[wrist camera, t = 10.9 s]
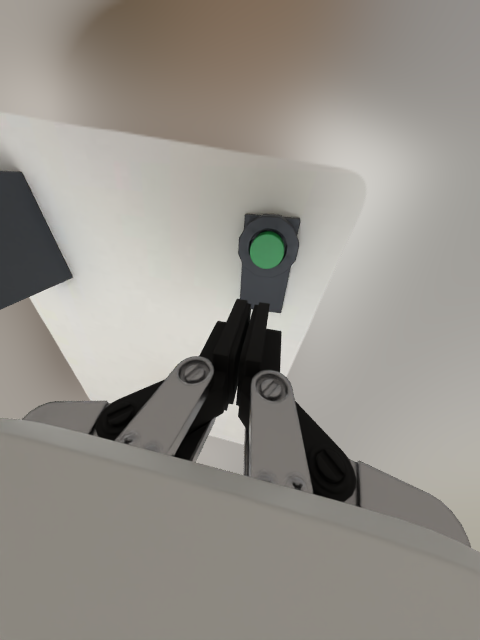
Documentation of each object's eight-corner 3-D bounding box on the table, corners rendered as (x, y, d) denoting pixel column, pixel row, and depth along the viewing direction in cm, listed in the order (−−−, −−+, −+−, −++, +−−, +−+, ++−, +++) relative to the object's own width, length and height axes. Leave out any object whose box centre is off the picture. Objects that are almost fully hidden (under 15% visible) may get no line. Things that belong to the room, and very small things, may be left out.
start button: (253, 229, 21) (251, 232, 20) (287, 232, 20) (287, 235, 19) (250, 262, 23) (248, 267, 22) (281, 266, 22) (280, 270, 21)
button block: (244, 210, 22) (240, 213, 20) (303, 215, 21) (304, 219, 19) (239, 304, 29) (235, 312, 27) (282, 310, 28) (282, 320, 26)
